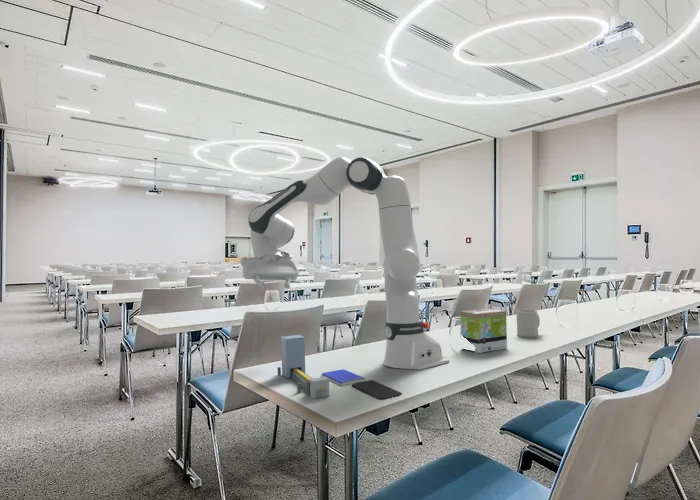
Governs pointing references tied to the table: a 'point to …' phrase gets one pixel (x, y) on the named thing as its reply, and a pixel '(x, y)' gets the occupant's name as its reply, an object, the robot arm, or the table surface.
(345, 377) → the hard drive
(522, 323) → the mug
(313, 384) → the cord rail
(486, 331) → the tea box
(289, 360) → the pale blue block
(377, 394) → the phone
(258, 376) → the table surface
